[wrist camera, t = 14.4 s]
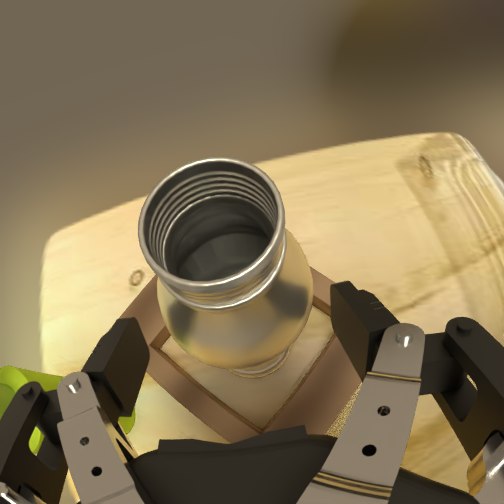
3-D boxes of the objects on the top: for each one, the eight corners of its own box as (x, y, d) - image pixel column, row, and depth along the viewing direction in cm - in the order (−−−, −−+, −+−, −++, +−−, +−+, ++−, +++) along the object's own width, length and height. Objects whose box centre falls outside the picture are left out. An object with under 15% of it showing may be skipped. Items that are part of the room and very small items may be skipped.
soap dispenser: (123, 367, 24) (-61, 305, 6) (142, 434, 21) (-43, 463, 3) (79, 377, 23) (-89, 327, 5) (95, 439, 20) (-76, 446, 2)
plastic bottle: (220, 380, 23) (74, 361, 5) (216, 308, 26) (115, 142, 8) (293, 374, 23) (377, 346, 5) (285, 301, 26) (314, 116, 8)
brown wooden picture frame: (384, 328, 24) (395, 322, 22) (285, 469, 19) (286, 478, 17) (220, 221, 30) (216, 207, 28) (120, 336, 25) (108, 331, 23)
